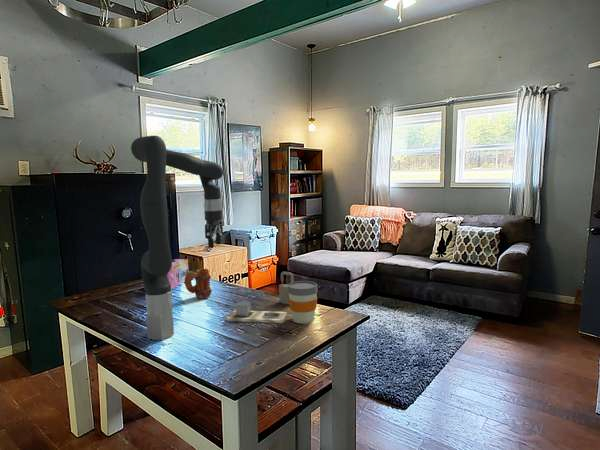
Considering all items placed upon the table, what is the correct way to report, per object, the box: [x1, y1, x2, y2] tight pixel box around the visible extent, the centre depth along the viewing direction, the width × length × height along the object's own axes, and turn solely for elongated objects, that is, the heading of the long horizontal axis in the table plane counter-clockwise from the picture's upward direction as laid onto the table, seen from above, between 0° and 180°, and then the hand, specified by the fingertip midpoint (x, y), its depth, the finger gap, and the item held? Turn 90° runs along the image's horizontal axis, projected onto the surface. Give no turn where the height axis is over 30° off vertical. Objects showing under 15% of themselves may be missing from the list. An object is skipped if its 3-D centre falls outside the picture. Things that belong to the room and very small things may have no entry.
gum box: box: [167, 257, 190, 289], centre depth 216 cm, size 24×8×14 cm, turn 168°
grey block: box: [235, 301, 252, 318], centre depth 163 cm, size 5×5×6 cm
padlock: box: [278, 271, 295, 305], centre depth 181 cm, size 4×8×15 cm, turn 53°
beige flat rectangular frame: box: [225, 309, 288, 324], centre depth 162 cm, size 24×10×1 cm, turn 80°
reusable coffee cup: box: [287, 280, 318, 324], centre depth 158 cm, size 13×13×15 cm
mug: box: [184, 268, 213, 299], centre depth 190 cm, size 15×8×15 cm, turn 141°
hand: (215, 245), depth 168 cm, fingers open, 8 cm apart
